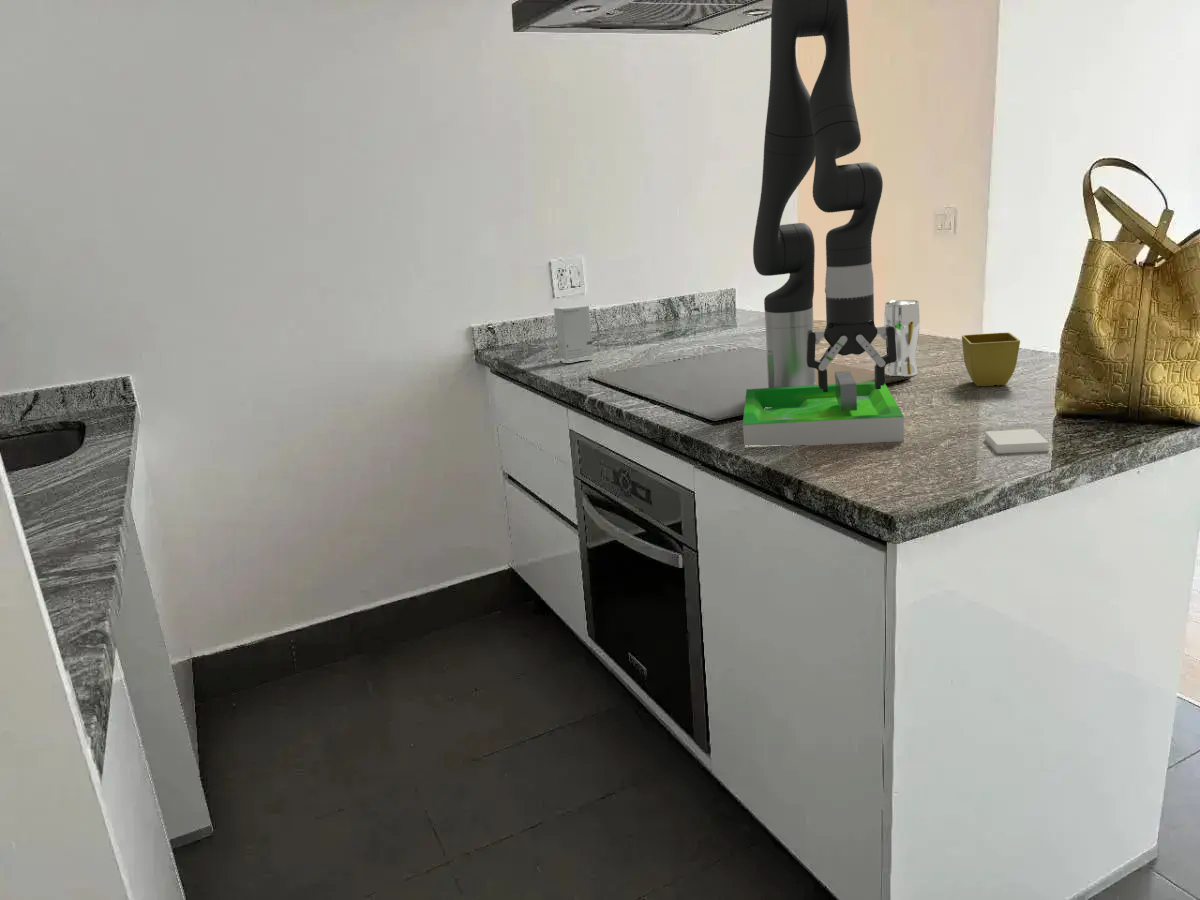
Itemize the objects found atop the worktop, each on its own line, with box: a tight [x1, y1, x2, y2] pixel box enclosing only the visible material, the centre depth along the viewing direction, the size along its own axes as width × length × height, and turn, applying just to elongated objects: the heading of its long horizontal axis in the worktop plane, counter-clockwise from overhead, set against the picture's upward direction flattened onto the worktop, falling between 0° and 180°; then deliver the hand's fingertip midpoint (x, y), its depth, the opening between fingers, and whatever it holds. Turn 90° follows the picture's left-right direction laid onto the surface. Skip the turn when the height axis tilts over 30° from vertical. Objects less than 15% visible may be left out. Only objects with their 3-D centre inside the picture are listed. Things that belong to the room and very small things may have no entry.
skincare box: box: [553, 304, 594, 360], centre depth 233 cm, size 8×6×15 cm
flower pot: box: [961, 332, 1021, 387], centre depth 165 cm, size 9×9×9 cm
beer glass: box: [883, 299, 921, 378], centre depth 179 cm, size 7×7×15 cm
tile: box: [984, 428, 1050, 454], centre depth 130 cm, size 2×7×7 cm
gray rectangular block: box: [834, 370, 857, 411], centre depth 147 cm, size 2×10×4 cm, turn 170°
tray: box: [742, 381, 905, 446], centre depth 151 cm, size 25×25×5 cm
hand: (851, 389), depth 145 cm, fingers open, 8 cm apart
